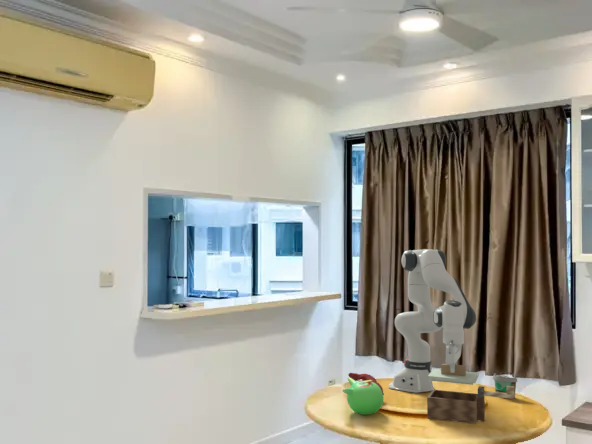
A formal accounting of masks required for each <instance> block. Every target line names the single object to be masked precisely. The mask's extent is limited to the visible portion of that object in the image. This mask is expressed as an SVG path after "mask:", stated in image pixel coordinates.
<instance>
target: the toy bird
mask: <svg viewBox="0 0 592 444" xmlns="http://www.w3.org/2000/svg"><path fill="white" fill-rule="evenodd" d="M347 381H348V383H349V385H350V387H348V388H343V389H342V392H343V393H345V394H346V401H347V404H348V406H349V408H350V409H351V410H352V411H353V412H354V413H357V414H359V415H366V416H367V415H371V414H375V413H376V412H378V411H379V410H380V409H381V408H382V406H383V403H384V395H383V393H384V392H383V393H382V390H381V389H380V387H379V386H378V385H377V384H375V383H374V382H371V381H372V380H367V381H363V380H359V381H355V380H353V379H352V378H350V377H349V376H348V377H347Z"/></svg>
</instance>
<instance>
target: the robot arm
mask: <svg viewBox="0 0 592 444" xmlns="http://www.w3.org/2000/svg"><path fill="white" fill-rule="evenodd" d="M400 261H401V266H402V268H403V269H404V271H406V272H408V275H407V298H408V301H409V302H411V303H412V304H413V305H416V307H417V311H404V312H401V313H398V314H397V315H396V316H395V318H394V327H395V329H396V330H397V332H398V333H400V334H401V335H402V336H403V338H404V339H405V342H406V345H407V353H408V354H407V355H408V356H407V357H408V358H406V359H405V360H404V363H403V365H404V367H402V368H401V369H400V370H399V371H397V372H395V374H394V376H393V380H392V381H391V382H390V383H389V384H388V389H390V390H396V391H402V392H409V393H416V394H418V393H424V392H425V393H426V392H432V390H435V388H434V387H435V386H434V383H433V381H431V379H428V375H429V374H430V373H431V371H432V370H433V368H432V366H433V365H432V360H431V345H430V344H429V343H428V342H427V341H426V340H424V339H422V338H421V334H425V333H426V334H430V333H436V332H439V331H442V343H443V344H445V347H446V348H445V364H447V365H450V372H451V373H454V372H455V365H458V360H459V359H460V358H461V355H462V349H463V348H462V347H463V345H464V344H465V330H464V329H467V330H469V329H471V328H473V326H474V325H475V323H476V322H477V315H476V312H475V310H474V308H473V307H472V306H471V304H470V302H469V301H468V299H467V297H466V295H465V293H464V291H463V289H462V287H461V286H460V284H459V282H458V281H457V279H456V278H454V277H453V276H452V275H450V274H449V272H448V271H447V270H446V264H447V257H446V254H445V252H444V251H443V250H440V249H432V248H431V249H428V248H422V249H413V250H411V249H409V250H405V251H404V252H403V253H402V254H401V259H400ZM431 288H432V289H433V290H434V289H435V290H436V291H437V290H438V291H440V292H441V291H442V292H444V293H446V294H449V295H450V296H451V297H452V298H453V299H451V300H449V299H448V300H446V301H444V303H443V305H440V306H438V307H436V308H435V307H434V305H433V302H432V300H431V299H432V298H431Z"/></svg>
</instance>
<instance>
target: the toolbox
mask: <svg viewBox="0 0 592 444" xmlns="http://www.w3.org/2000/svg"><path fill="white" fill-rule="evenodd" d="M483 391H485V386H483V385H482V386H481V385H479V386H478V387H477V393H474V392H473V393H472V392H464V391H463V392H462V391H454V390H453V391H452V390H443V389H434V390H432V391H430V393H429V394H428V395H427V396H426V397H427V398H426V401H427V402H426V403H427V405H426V406H427V407H426V408H427V409H426V411H427V417H426V418H427V419H428V420H437V421H445V422H451V423H452V422H453V423H462V424H470V425H477V424H478V421H480V422H484V421H485V419H486V409H485V405H486V404H485V403H486V402H485V397H486V396H483Z"/></svg>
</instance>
